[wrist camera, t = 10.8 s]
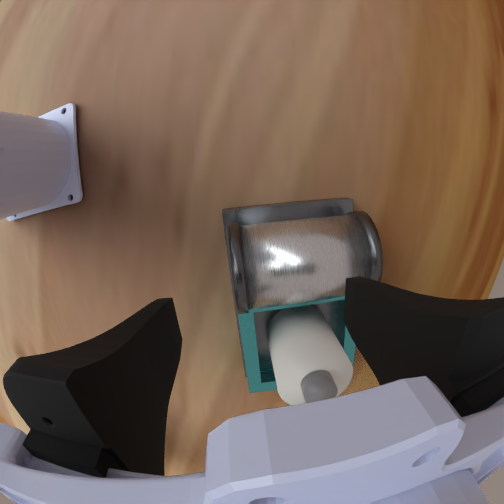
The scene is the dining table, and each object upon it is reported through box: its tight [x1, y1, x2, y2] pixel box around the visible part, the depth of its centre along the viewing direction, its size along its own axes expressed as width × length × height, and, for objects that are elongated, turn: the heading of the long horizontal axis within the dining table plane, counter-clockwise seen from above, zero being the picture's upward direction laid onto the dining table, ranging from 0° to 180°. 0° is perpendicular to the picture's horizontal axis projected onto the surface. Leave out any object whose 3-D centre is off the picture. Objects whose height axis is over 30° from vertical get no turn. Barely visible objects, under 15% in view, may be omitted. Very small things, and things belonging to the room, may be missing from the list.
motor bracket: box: [222, 198, 383, 393], centre depth 18 cm, size 10×14×6 cm
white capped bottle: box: [267, 305, 353, 405], centre depth 18 cm, size 5×5×7 cm
